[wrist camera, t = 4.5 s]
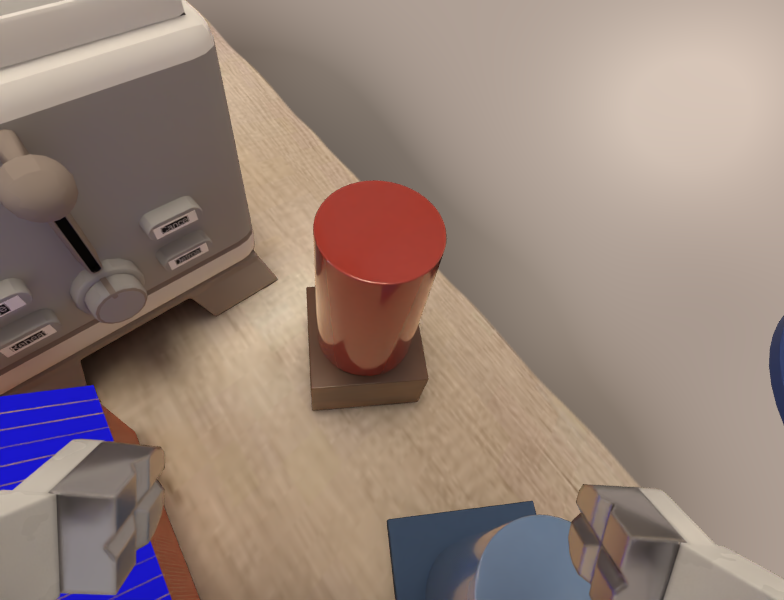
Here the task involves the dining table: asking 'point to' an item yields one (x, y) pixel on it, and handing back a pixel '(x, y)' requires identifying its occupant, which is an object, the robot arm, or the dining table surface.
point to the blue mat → (438, 540)
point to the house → (48, 436)
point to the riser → (357, 390)
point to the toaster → (111, 181)
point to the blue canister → (509, 564)
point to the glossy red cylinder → (373, 272)
